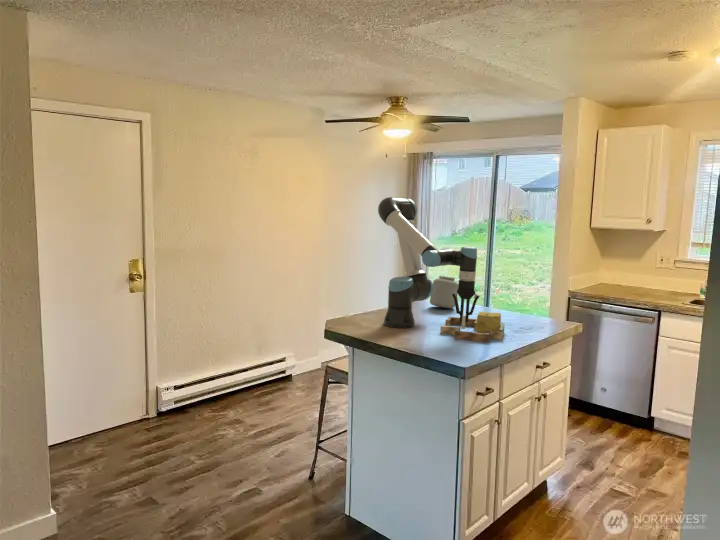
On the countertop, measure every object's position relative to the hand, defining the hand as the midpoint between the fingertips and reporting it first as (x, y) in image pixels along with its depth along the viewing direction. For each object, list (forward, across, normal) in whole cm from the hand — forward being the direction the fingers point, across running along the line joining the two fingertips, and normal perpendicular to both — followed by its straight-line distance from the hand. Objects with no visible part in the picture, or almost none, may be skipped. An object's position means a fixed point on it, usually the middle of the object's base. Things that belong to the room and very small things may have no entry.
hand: (463, 328), depth 255 cm
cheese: (+2, +12, -1) cm, 12 cm away
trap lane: (+1, +4, 0) cm, 5 cm away
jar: (+3, -17, +55) cm, 57 cm away
